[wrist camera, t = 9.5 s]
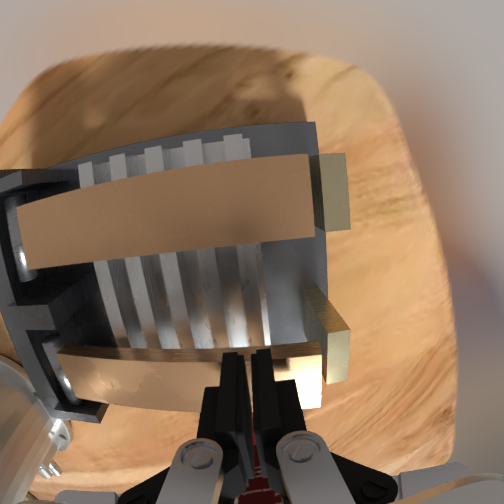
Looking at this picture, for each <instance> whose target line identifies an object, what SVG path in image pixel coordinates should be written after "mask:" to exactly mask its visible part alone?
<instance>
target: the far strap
mask: <svg viewBox="0 0 504 504" xmlns="http://www.w3.org/2000/svg"><path fill="white" fill-rule="evenodd" d="M41 343H42V346H43V348H44V351H45V353H46V355H47V358H48V360H49V362H50V364H51V366H52V369H53V371H54V373H55V375H56V377H57V379H58V381H59V383H60V385H61V387H62V389H63V391H64V393H65V395H66V396H67V398H68V400H69V402H70V403H71V404H80V403H82V402H84V401H85V400H91V401H97V402H102V403H108V404H115V405H121V406H129V407H137V408H145V409H155V410H167V411H182V412H201V407H202V400H203V394H204V389H205V387H213V386H219V383H220V373H221V364H222V355H223V353H225V352H238V355H244V361H245V367H246V374H247V380H248V386H249V393H250V399H251V405H252V412H253V402H252V375H251V354H256V350H258V349H267V348H270V349H271V356H272V363H273V370H274V377H275V381H281V380H289V379H295V382H296V386H297V390H298V394H299V399H300V403H301V407H302V409H306V408H315V407H320V405H321V374H322V354H321V350H320V346H319V343H318V341H311V342H301V343H291V344H279V345H266V346H251V347H232V348H202V349H150V348H121V347H103V346H89V345H77V344H65V345H64V342H63V339H62V337H61V335H60V334H58V333H54V334H50V335H48V336H46V337H44V338H43V339H42V340H41Z"/></svg>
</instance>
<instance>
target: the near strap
mask: <svg viewBox="0 0 504 504" xmlns="http://www.w3.org/2000/svg"><path fill="white" fill-rule="evenodd" d="M4 204H5V211H6V218H7V224H8V230H9V235H10V241H11V246H12V250H13V255H14V259H15V263H16V267H17V271H18V275H19V279H20V282H26V281H30V280H33V279H36V278H38V277H40V276H41V271H40V268H46V267H54V266H62V265H70V264H78V263H87V262H95V261H103V260H111V259H120V258H128V257H136V256H145V255H153V254H162V253H171V252H179V251H188V250H197V249H206V248H215V247H224V246H233V245H242V244H251V243H260V242H269V241H278V240H288V239H297V238H307V237H315V227H314V213H313V200H312V189H311V178H310V168H309V158H308V154H295V155H282V156H270V157H259V158H250V159H241V160H232V161H224V162H216V163H209V164H202V165H195V166H189V167H182V168H176V169H170V170H165V171H159V172H154V173H148V174H143V175H138V176H133V177H128V178H124V179H119V180H114V181H110V182H105V183H101V184H97V185H93V186H89V187H85V188H81V189H77V190H73V191H69V192H65V193H62V194H58V195H55V196H51V197H48V198H44V199H41V200H37V201H34V202H31V203H28V204H27V197H26V194H22V195H17V196H13V197H10V198H7V199H5V200H4Z"/></svg>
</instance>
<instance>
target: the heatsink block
mask: <svg viewBox="0 0 504 504" xmlns="http://www.w3.org/2000/svg"><path fill="white" fill-rule="evenodd" d="M295 154H308V158H309V168H310V178H311V189H312V200H313V213H314V227H315V237H307V238H297V239H288V240H278V241H269V242H260V243H251V244H242V245H233V246H224V247H215V248H206V249H197V250H188V251H179V252H171V253H162V254H153V255H145V256H136V257H128V258H120V259H111V260H103V261H95V262H87V263H78V264H70V265H62V266H54V267H46V268H40V271H41V276H40V277H38V278H36V279H33V280H30V281H26V282H20V279H19V275H18V271H17V267H16V263H15V259H14V255H13V250H12V246H11V241H10V235H9V230H8V224H7V218H6V211H5V204H4V200H5V199H7V198H10V197H13V196H17V195H22V194H26V197H27V204H28V203H31V202H34V201H37V200H41V199H44V198H48V197H51V196H55V195H58V194H62V193H65V192H69V191H73V190H77V189H81V188H85V187H89V186H93V185H97V184H101V183H105V182H110V181H114V180H119V179H124V178H128V177H133V176H138V175H143V174H148V173H154V172H159V171H165V170H170V169H176V168H182V167H189V166H195V165H202V164H209V163H216V162H224V161H232V160H241V159H250V158H259V157H270V156H282V155H295ZM348 229H351V228H350V208H349V192H348V179H347V168H346V158H345V153H333V154H319V150H318V141H317V132H316V124H315V122H293V123H276V124H262V125H251V126H241V127H231V128H223V129H215V130H208V131H201V132H194V133H188V134H182V135H176V136H170V137H165V138H160V139H154V140H150V141H145V142H140V143H135V144H131V145H127V146H122V147H118V148H114V149H110V150H106V151H102V152H99V153H95V154H91V155H88V156H84V157H81V158H77V159H74V160H71V161H67V162H64V163H61V164H58V165H55V166H52V167H49V168H46V169H8V170H0V312H1V314H2V317H3V320H4V323H5V325H6V328H7V331H8V333H9V336H10V338H11V340H12V343H13V345H14V348H15V350H16V352H17V354H18V357H19V359H20V361H21V363H22V365H23V367H24V369H25V371H26V373H27V375H28V377H29V379H30V381H31V383H32V385H33V387H34V389H35V391H36V392H37V394H38V396H39V398H40V400H41V401H42V403H43V405H44V406H45V408H46V410H47V411H48V413H49V415H50V416H51V417H52V418H57V419H62V420H68V421H71V420H78V421H84V422H92V423H101V421H102V419H103V417H104V414H105V412H106V410H107V408H108V406H109V404H108V403H102V402H97V401H91V400H85V401H84V402H82V403H80V404H71V403H70V402H69V400H68V398H67V396H66V395H65V393H64V391H63V389H62V387H61V385H60V383H59V381H58V379H57V377H56V375H55V373H54V371H53V369H52V366H51V364H50V362H49V360H48V358H47V355H46V353H45V351H44V348H43V346H42V343H41V340H42V339H43V338H44V337H46V336H48V335H50V334H54V333H58V334H60V335H61V337H62V339H63V342H64V345H65V344H77V345H89V346H103V347H121V348H150V349H202V348H232V347H251V346H266V345H279V344H291V343H301V342H311V341H318V343H319V346H320V350H321V354H322V375H323V377H324V380H325V382H326V384H331V383H336V382H340V381H345V380H347V374H348V361H349V346H350V328H349V327H348V325H347V324H346V323H345V321H344V320H343V319H342V317H341V316H340V315H339V313H338V312H337V311H336V309H335V308H334V307H333V305H332V304H331V303H330V301H329V300H328V283H327V254H326V234H325V232H330V231H339V230H348Z"/></svg>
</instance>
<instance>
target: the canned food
mask: <svg viewBox="0 0 504 504" xmlns="http://www.w3.org/2000/svg"><path fill="white" fill-rule="evenodd" d="M253 448H254V473H255V478H254V479H249V486H248V487H246V490H245V491H244V492H243V493H241V494H240V495H239V496H238V504H283V503H282V499H281V495H280V494H279V493H277V492H275V491H274V490H272V489H270V488H269V483H268V478H263V477H262V472H261V467H260V462H259V456H258V451H257V446H256V440H255V434H254V427H253Z"/></svg>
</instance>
